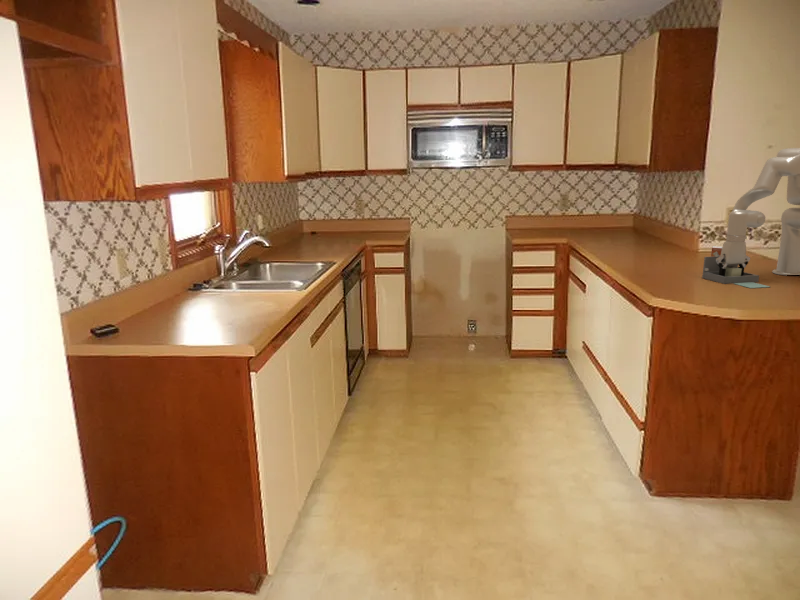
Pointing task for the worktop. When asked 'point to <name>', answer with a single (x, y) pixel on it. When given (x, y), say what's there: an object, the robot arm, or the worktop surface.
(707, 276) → the grey open box
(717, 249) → the small box
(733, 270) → the block
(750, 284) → the mat
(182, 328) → the worktop surface
